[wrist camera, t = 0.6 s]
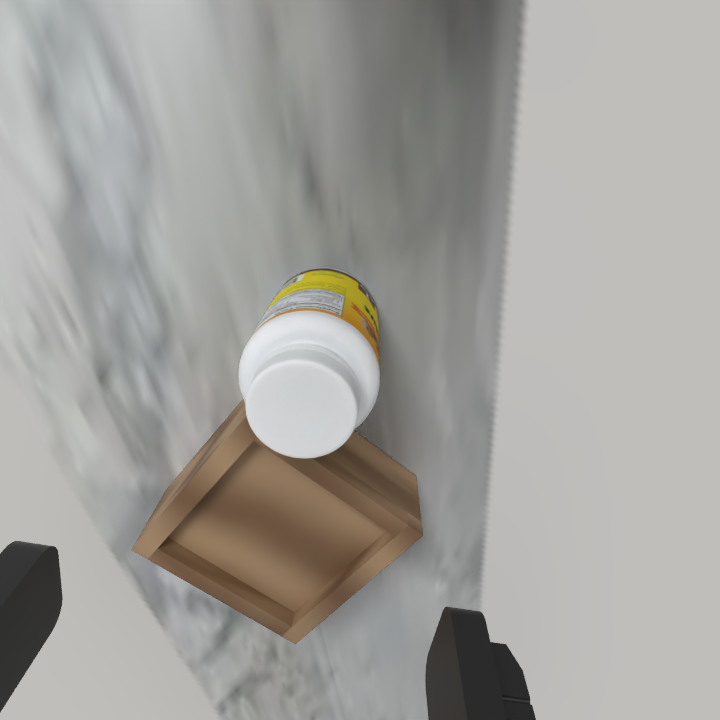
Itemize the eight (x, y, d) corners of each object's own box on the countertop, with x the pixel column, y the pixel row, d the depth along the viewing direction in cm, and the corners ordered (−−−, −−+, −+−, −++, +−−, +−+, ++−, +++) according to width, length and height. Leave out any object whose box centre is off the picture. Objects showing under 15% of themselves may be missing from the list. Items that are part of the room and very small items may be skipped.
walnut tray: (268, 368, 28) (248, 414, 24) (415, 475, 31) (423, 535, 27) (166, 490, 32) (131, 549, 28) (305, 576, 35) (295, 644, 30)
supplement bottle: (373, 368, 28) (372, 486, 19) (272, 358, 28) (221, 471, 19) (385, 269, 26) (390, 347, 17) (275, 257, 26) (218, 330, 17)
